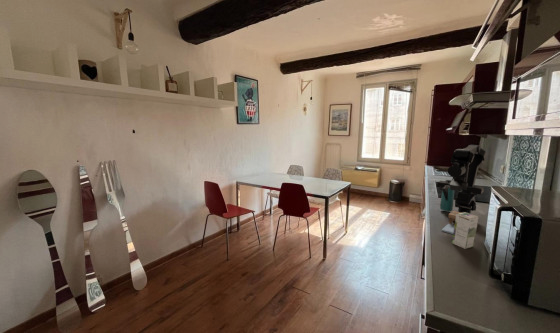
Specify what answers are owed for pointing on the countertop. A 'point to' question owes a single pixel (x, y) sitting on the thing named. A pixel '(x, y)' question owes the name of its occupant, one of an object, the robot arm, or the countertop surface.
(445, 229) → the board
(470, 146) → the robot arm
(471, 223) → the syrup box
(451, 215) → the block with dowel legs
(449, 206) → the beverage bottle
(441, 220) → the countertop surface
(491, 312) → the countertop surface
